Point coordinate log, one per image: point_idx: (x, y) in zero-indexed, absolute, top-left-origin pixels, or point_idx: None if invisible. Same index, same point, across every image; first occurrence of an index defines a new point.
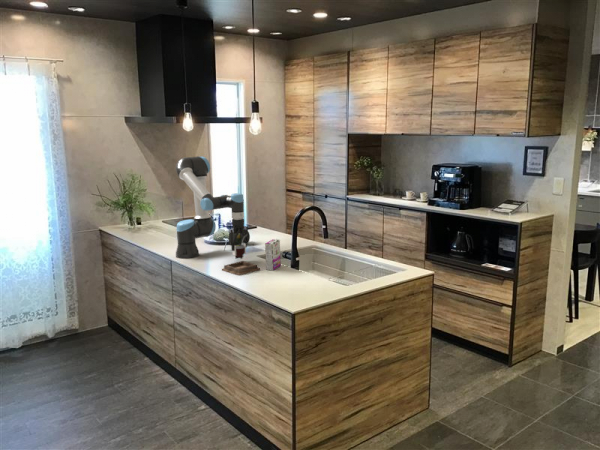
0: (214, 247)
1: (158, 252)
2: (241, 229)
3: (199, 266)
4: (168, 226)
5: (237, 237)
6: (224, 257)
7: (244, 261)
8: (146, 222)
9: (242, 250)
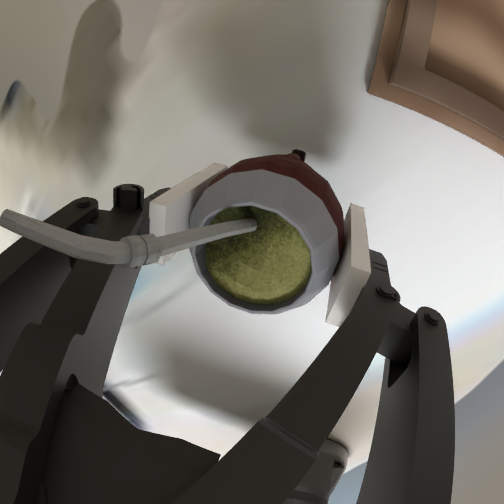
0: (154, 411)
1: None
2: (14, 479)
3: (475, 358)
4: None
5: None
6: (246, 338)
7: (405, 51)
8: None
9: (283, 162)
